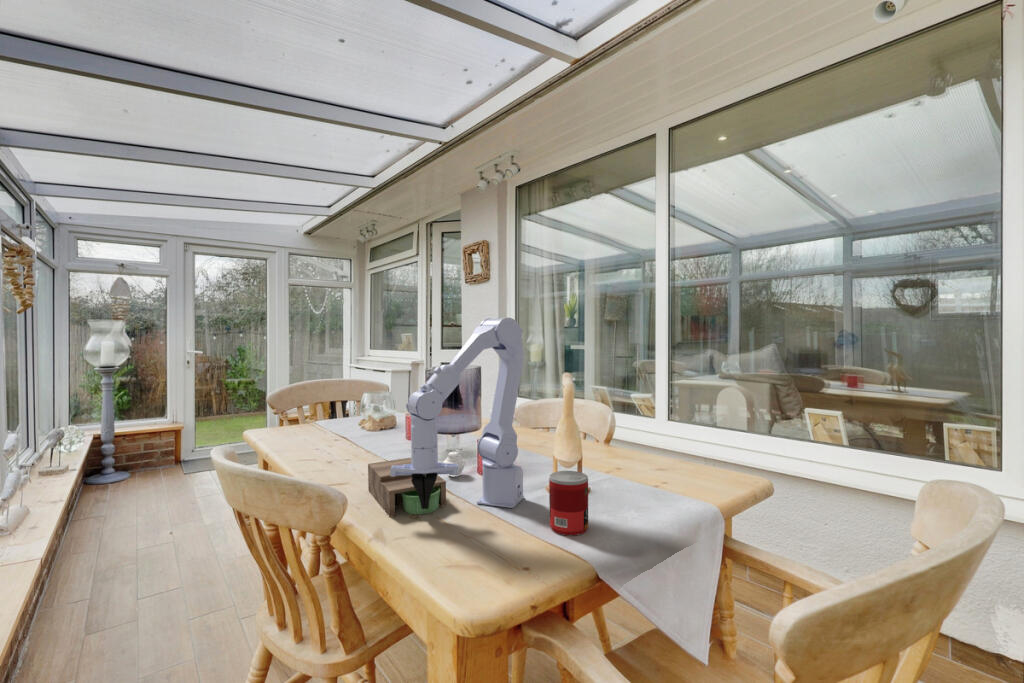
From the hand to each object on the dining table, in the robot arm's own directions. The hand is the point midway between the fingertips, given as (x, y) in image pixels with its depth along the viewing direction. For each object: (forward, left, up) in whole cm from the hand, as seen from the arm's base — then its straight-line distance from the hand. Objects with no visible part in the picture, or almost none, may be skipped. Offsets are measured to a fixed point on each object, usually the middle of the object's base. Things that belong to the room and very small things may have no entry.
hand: (425, 507), depth 105 cm
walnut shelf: (+11, -9, -2) cm, 15 cm away
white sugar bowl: (+8, -29, -3) cm, 30 cm away
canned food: (-31, -5, -3) cm, 32 cm away
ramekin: (+4, -5, -3) cm, 7 cm away
